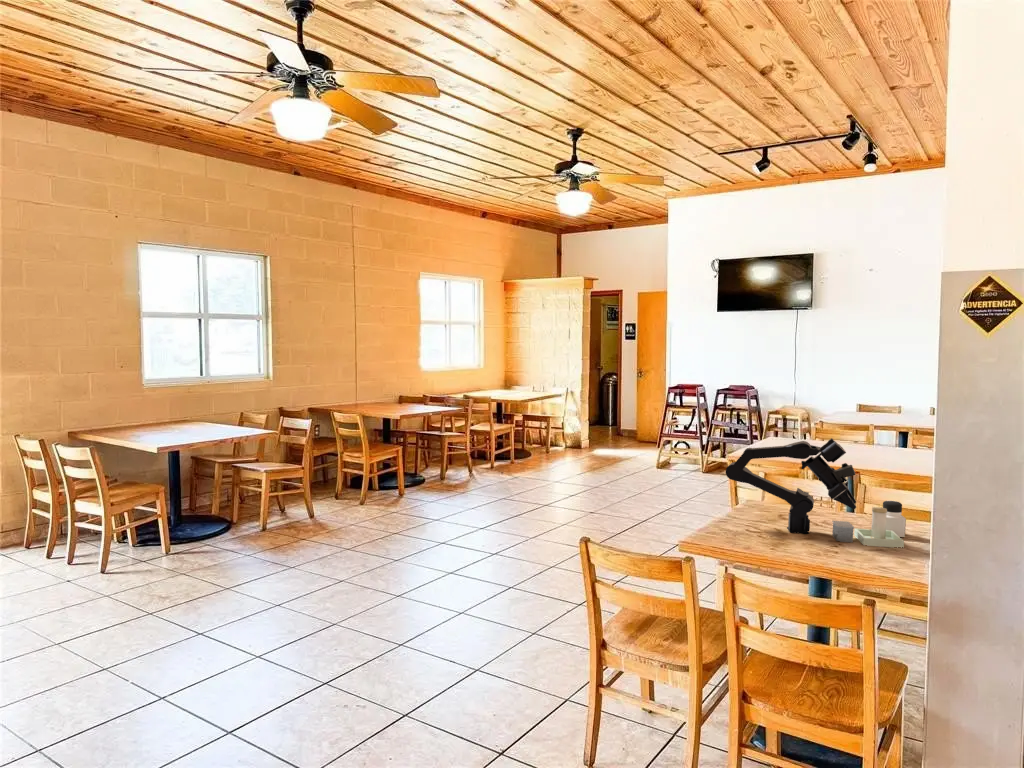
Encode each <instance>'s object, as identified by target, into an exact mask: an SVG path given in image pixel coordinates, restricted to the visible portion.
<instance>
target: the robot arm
mask: <svg viewBox="0 0 1024 768" xmlns="http://www.w3.org/2000/svg"><path fill="white" fill-rule="evenodd" d="M845 454H847V452H846V450H845V449H844V447H843V446H842V445H841V444H839V443H838V442H837V441H836V440H835V439H833V438H830V439H829V440H828V441H827V442H826V443H824V444H823V445H821V446H818V445H817V446H816V445H812V444H810V443H809V442H808V441H805V440H801V441H797V442H793V443H789V444H784V445H778V446H762V447H761V446H760V447H746V449H744V450H743V453H742V454H741V455H740V456H739V457H738V458H737V460H736V461H734V462H731V463H730V464H728V466H727V467H726V468H725V475H726V477H727V478H728V480H729V479H730V480H732V481H734V482H739V483H744V484H749V485H751V486H753V487H756V488H758V489H760V490H762V491H764V492H766V493H768V494H771V495H772V496H775V497H776V498H779V499H781V500H783V501H785V502H787V504H789V505H790V508H789V513H788V522H787V523H788V525H787V527H786V529H787V531H788V532H789V533H790V534H804V535H809V534H810V528H811V520H810V519H809V515H808V513H810V512H811V511H813V508H814V504H815V501H814V497H813V496H812V495H810V492H808V491H804V490H803V489H801V488H799V487H798V488H797V489H796V490H792V489H788V488H786V487H784V486H781V485H779V484H777V483H776V482H773V481H772V480H769V479H766V478H764V477H762V476H760V475H758V474H756V473H754V472H752V471H751V470H750V469H749V468H748V467H746V466H747V465H748V464H749V463H750V461H751V460H755V459H756V460H757V459H758V460H759V459H771V458H791V459H796V460H797V459H798V460H801V462H800V463H801V470H804V469H805V468H808V469H809V470H810V471H811V472H812V473H813V474H814V475H815V477H817V480H818V481H819V482H821V483H822V484H823V485H824V486H825V487H826V490H827V492H828V493H827V496H829V498H830V499H831V500H833V501H836V502H838V503H840V504H842V505H844V506H847V507H848V508H850V509H853V510H855V509H857V506H856V503H857V501H856V499H855V498H854V496H853V494H852V492H851V490H849V481H848V479H847V478H849V477H854V476H855V475H856V471H855V469H854V467H853V465H852V464H849V463H846V462H844V463H842V464H841V467H839V468H836V469H835V468H834V467H832V466H830V465H829V463H833V464H834V463H835V462H837V460H839V459H841V457H843V456H844V455H845ZM813 456H815V457H813ZM821 456H822V457H821Z"/></svg>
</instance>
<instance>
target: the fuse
mask: <svg viewBox="0 0 1024 768" xmlns="http://www.w3.org/2000/svg"><path fill="white" fill-rule="evenodd" d="M886 515H887V509H886V508H883V506H881V507H880V506H872V508H871V527H870V528H871V538H877V539H886V538H885V537H886Z"/></svg>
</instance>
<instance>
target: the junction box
mask: <svg viewBox="0 0 1024 768" xmlns="http://www.w3.org/2000/svg"><path fill="white" fill-rule="evenodd" d="M854 529H855V527H854V525H853V524H851V522H850V521H843V520H842V521H841V520H832V535H831V536H832V537H833V539H836V540H835V541H836V542H837V541H840V543H851V544H852V543H853V541H854Z"/></svg>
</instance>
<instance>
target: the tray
mask: <svg viewBox="0 0 1024 768" xmlns="http://www.w3.org/2000/svg"><path fill="white" fill-rule="evenodd" d="M853 537H855V538H856V539H857V540H858V541H859V542H860V543H861V544H862V545H863V546H865V545H867V546H869V547H881V548H894V547H897V548H898V547H901V548H900V549H904V546H905V540H904V539H903V538H900V537H899V536H898V535H897V534H896V533H895V532H893V531H887V530H886V537H885V538H886V539H877V538H871V529H868V528H855V527H854V528H853ZM902 547H903V548H902ZM897 548H896V549H897ZM898 549H899V548H898Z"/></svg>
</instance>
